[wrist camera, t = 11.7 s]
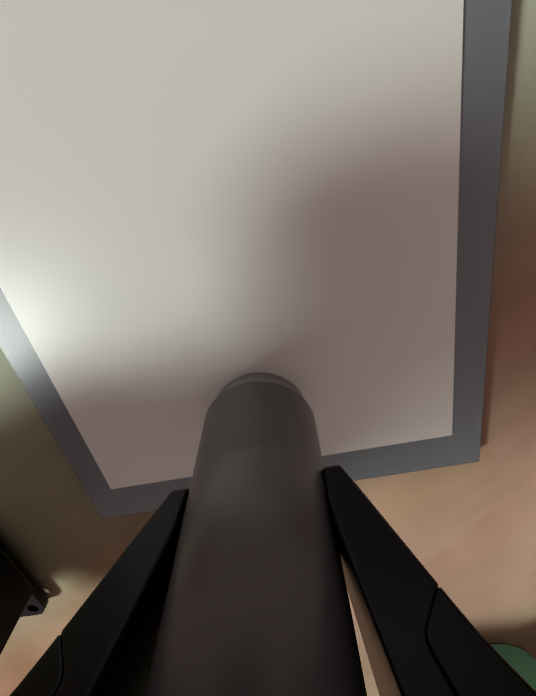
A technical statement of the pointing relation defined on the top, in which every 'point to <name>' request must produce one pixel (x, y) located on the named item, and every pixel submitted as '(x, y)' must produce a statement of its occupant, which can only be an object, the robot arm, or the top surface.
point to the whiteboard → (249, 224)
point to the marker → (257, 560)
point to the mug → (519, 662)
